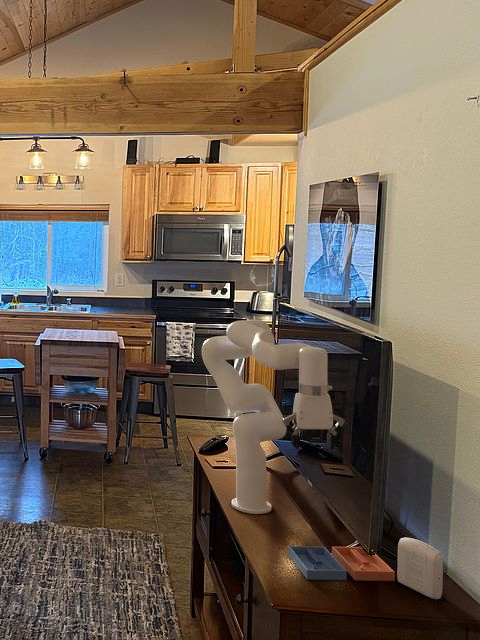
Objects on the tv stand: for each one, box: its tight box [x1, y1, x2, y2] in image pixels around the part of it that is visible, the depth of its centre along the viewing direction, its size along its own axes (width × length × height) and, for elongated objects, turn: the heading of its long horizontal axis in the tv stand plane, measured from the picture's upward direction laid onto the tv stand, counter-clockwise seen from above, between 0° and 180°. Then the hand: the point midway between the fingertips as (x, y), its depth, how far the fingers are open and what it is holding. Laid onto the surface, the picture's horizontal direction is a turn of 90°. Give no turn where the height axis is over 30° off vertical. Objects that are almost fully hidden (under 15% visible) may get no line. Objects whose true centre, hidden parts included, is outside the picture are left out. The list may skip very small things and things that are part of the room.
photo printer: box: [396, 537, 444, 600], centre depth 164 cm, size 10×4×12 cm, turn 23°
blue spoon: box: [306, 549, 330, 570], centre depth 177 cm, size 11×4×2 cm, turn 175°
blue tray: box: [287, 545, 348, 581], centre depth 177 cm, size 14×10×2 cm
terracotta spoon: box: [350, 549, 377, 571], centre depth 176 cm, size 11×4×2 cm, turn 175°
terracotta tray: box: [331, 546, 396, 582], centre depth 176 cm, size 14×10×2 cm
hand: (313, 447), depth 190 cm, fingers open, 9 cm apart
